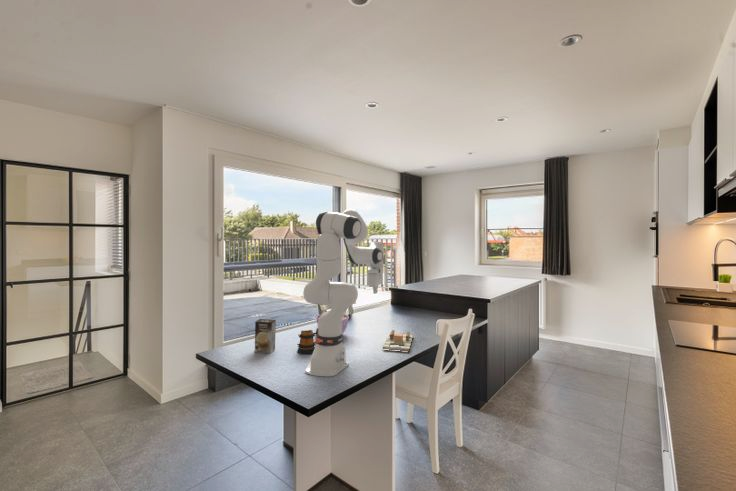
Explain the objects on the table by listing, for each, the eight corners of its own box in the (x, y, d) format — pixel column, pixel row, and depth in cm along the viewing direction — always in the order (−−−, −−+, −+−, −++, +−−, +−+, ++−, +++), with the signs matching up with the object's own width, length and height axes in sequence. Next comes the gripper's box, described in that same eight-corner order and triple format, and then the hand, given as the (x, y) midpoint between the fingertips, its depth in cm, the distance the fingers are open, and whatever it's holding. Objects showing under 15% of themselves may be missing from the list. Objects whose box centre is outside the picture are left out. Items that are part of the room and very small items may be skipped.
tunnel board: (408, 352, 178) (409, 343, 178) (382, 350, 181) (382, 341, 181) (413, 337, 206) (413, 329, 205) (390, 335, 208) (390, 327, 208)
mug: (302, 356, 170) (302, 333, 170) (293, 350, 178) (293, 328, 178) (324, 351, 178) (325, 329, 178) (315, 346, 186) (315, 325, 186)
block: (402, 343, 188) (402, 336, 188) (394, 342, 189) (394, 335, 188) (402, 340, 192) (403, 333, 192) (395, 340, 193) (395, 333, 193)
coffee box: (253, 352, 174) (254, 321, 174) (259, 348, 180) (259, 318, 180) (271, 353, 173) (271, 322, 173) (275, 349, 180) (276, 319, 179)
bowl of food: (309, 338, 200) (310, 318, 200) (324, 329, 219) (324, 311, 219) (341, 342, 194) (341, 322, 194) (353, 332, 213) (353, 314, 213)
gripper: (374, 268, 207) (373, 290, 207) (366, 270, 187) (366, 295, 187) (384, 268, 206) (383, 291, 206) (377, 270, 186) (377, 295, 186)
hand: (375, 293), depth 196 cm, fingers closed
